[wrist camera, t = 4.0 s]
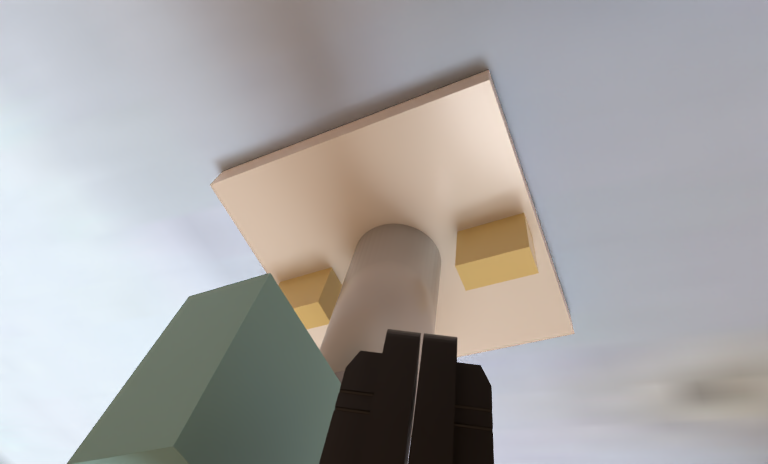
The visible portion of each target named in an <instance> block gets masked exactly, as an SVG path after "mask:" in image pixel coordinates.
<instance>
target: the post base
mask: <svg viewBox="0 0 768 464" xmlns="http://www.w3.org/2000/svg"><path fill="white" fill-rule="evenodd" d="M210 186H211V187H212V189H213V190H214V192H215V193H216V195H217V197H218V198H219V200H220V201H221V203H222V204H223V206H224V207H225V209H226V211H227V212H228V214H229V215H230V217H231V218H232V220H233V221H234V223H235V225H236V226H237V228H238V229H239V231H240V232H241V234H242V235H243V237H244V238H245V240H246V242H247V243H248V245H249V246H250V248H251V249H252V251H253V252H254V254H255V256H256V257H257V259H258V260H259V262H260V263H261V265H262V266H263V268H264V270H265V271H266V273H267V274H268V273H271V275H272V276H273V278H274V279H275V281H276V282H277V284H278V286H279V287H280V289H281V290H282V292H283V293H284V295H285V297H286V298H287V300H288V301H289V303H290V304H291V306H292V307H293V309H294V311H295V312H296V314H297V315H298V317H299V318H300V320H301V322H302V323H303V325H304V326H305V328H306V329H307V331H308V333H309V334H310V336H311V337H312V339H313V340H314V342H315V343H316V345H317V347H318V348H319V350H320V351H321V353H322V354H323V356H324V358H325V359H326V361H327V362H328V364H329V365H330V367H331V368H332V370H333V372H334V373H335V372H340V371H345V368H346V367H347V365H348V364H349V363H350V362H351V361H352V360H353V358H354V357H355V356H356V355H357V354H358V353H359V352H360V350H361V351H369V352H377V353H382V352H383V347H384V343H385V338H386V333H387V330H388V329H393V330H401V331H410V332H418V333H421V340H420V352H419V364H418V376H417V386H418V377H419V369H420V361H421V352H422V344H423V336H424V333H428V334H436V335H444V336H453V337H457V357H461V356H466V355H471V354H476V353H481V352H485V351H490V350H495V349H500V348H505V347H510V346H515V345H520V344H525V343H530V342H535V341H540V340H545V339H550V338H555V337H560V336H565V335H570V334H574V329H573V325H572V320H571V316H570V312H569V309H568V306H567V303H566V300H565V297H564V294H563V291H562V288H561V285H560V282H559V279H558V276H557V273H556V270H555V267H554V264H553V261H552V258H551V255H550V252H549V249H548V246H547V243H546V240H545V237H544V234H543V231H542V228H541V225H540V222H539V219H538V216H537V213H536V210H535V207H534V204H533V201H532V198H531V195H530V192H529V189H528V186H527V183H526V180H525V177H524V174H523V171H522V168H521V165H520V162H519V159H518V156H517V153H516V150H515V147H514V144H513V141H512V138H511V135H510V132H509V129H508V126H507V123H506V120H505V117H504V114H503V111H502V108H501V105H500V102H499V99H498V96H497V93H496V90H495V87H494V84H493V81H492V78H491V75H490V72H489V70H487V71H484V72H481V73H479V74H476V75H474V76H471V77H468V78H466V79H463V80H460V81H458V82H455V83H453V84H450V85H447V86H445V87H442V88H440V89H437V90H434V91H432V92H429V93H427V94H424V95H421V96H419V97H416V98H413V99H411V100H408V101H406V102H403V103H400V104H398V105H395V106H393V107H390V108H387V109H385V110H382V111H380V112H377V113H374V114H372V115H369V116H366V117H364V118H361V119H359V120H356V121H353V122H351V123H348V124H346V125H343V126H340V127H338V128H335V129H332V130H330V131H327V132H325V133H322V134H319V135H317V136H314V137H312V138H309V139H306V140H304V141H301V142H299V143H296V144H293V145H291V146H288V147H285V148H283V149H280V150H278V151H275V152H272V153H270V154H267V155H265V156H262V157H259V158H257V159H254V160H252V161H249V162H246V163H244V164H241V165H238V166H236V167H233V168H231V169H228V170H225V171H223V172H222V173H221V174H220V175H219V176H218V177H217V178H216V179H215V180H214V181H213V182H212V183H211V184H210ZM416 394H417V387H416ZM415 402H416V397H415ZM414 411H415V407H414ZM413 419H414V415H413ZM412 427H413V423H412ZM411 436H412V432H411Z"/></svg>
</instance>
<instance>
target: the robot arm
mask: <svg viewBox="0 0 768 464" xmlns="http://www.w3.org/2000/svg"><path fill="white" fill-rule="evenodd" d="M420 340H421V333H418V332H410V331H401V330H393V329H388V330H387V333H386V338H385V343H384V347H383V352H382V353H377V352H369V351H361V350H360V352H359V353H358V354H357V355H356V356H355V357H354V358H353V360H352V361H351V362H350V363H349V364H348V365H347V367H346V368H345V372H344V375H343V379H342V383H341V386H340V392H339V393H338V397H337V401H336V404H335V410H334V411H333V415H332V419H331V422H330V426H329V429H328V433H327V437H326V440H325V444H324V447H323V451H322V455H321V458H320V462H319V464H494V454H493V432H492V429H493V423H492V391H491V385H490V383H489V381H488V379H487V377H486V375H485V373H484V371H483V369H482V367H481V365H474V364H466V363H458V362H457V337H453V336H444V335H436V334H428V333H424V336H423V344H422V352H421V361H420V369H419V377H418V386H417V376H418V364H419V352H420ZM416 387H417V394H416ZM415 397H416V402H415ZM414 407H415V411H414ZM413 415H414V419H413ZM412 423H413V427H412ZM411 432H412V436H411ZM410 440H411V444H410ZM409 448H410V452H409ZM408 456H409V460H408Z"/></svg>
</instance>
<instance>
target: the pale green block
mask: <svg viewBox="0 0 768 464" xmlns="http://www.w3.org/2000/svg"><path fill="white" fill-rule="evenodd" d="M344 372H345V371H340V372H335V373H334V372H333V370H332V368H331V367H330V365H329V364H328V362H327V361H326V359H325V358H324V356H323V354H322V353H321V351H320V350H319V348H318V347H317V345H316V343H315V342H314V340H313V339H312V337H311V336H310V334H309V333H308V331H307V329H306V328H305V326H304V325H303V323H302V322H301V320H300V318H299V317H298V315H297V314H296V312H295V311H294V309H293V307H292V306H291V304H290V303H289V301H288V300H287V298H286V297H285V295H284V293H283V292H282V290H281V289H280V287H279V286H278V284H277V282H276V281H275V279H274V278H273V276H272V275H271V273H268V274H264V275H261V276H257V277H254V278H251V279H247V280H244V281H240V282H237V283H234V284H230V285H227V286H223V287H220V288H216V289H213V290H210V291H206V292H203V293H199V294H196V295H193V296H189V297H188V299H187V300H186V301H185V303H184V304H183V305H182V307H181V308H180V310H179V311H178V312H177V314H176V315H175V316H174V318H173V319H172V320H171V322H170V323H169V325H168V326H167V327H166V329H165V330H164V331H163V333H162V334H161V336H160V337H159V338H158V340H157V341H156V342H155V344H154V345H153V346H152V348H151V349H150V351H149V352H148V353H147V355H146V356H145V357H144V359H143V360H142V362H141V363H140V364H139V366H138V367H137V368H136V370H135V371H134V372H133V374H132V375H131V377H130V378H129V379H128V381H127V382H126V383H125V385H124V386H123V388H122V389H121V390H120V392H119V393H118V394H117V396H116V397H115V398H114V400H113V401H112V403H111V404H110V405H109V407H108V408H107V409H106V411H105V412H104V414H103V415H102V416H101V418H100V419H99V420H98V422H97V423H96V424H95V426H94V427H93V429H92V430H91V431H90V433H89V434H88V435H87V437H86V438H85V440H84V441H83V442H82V444H81V445H80V446H79V448H78V449H77V450H76V452H75V453H74V455H73V456H72V457H71V459H70V460H69V461H68V463H67V464H319V462H320V458H321V455H322V451H323V447H324V444H325V440H326V437H327V433H328V429H329V426H330V422H331V419H332V415H333V411H334V410H335V404H336V401H337V397H338V393H339V392H340V386H341V383H342V379H343V375H344Z"/></svg>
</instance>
